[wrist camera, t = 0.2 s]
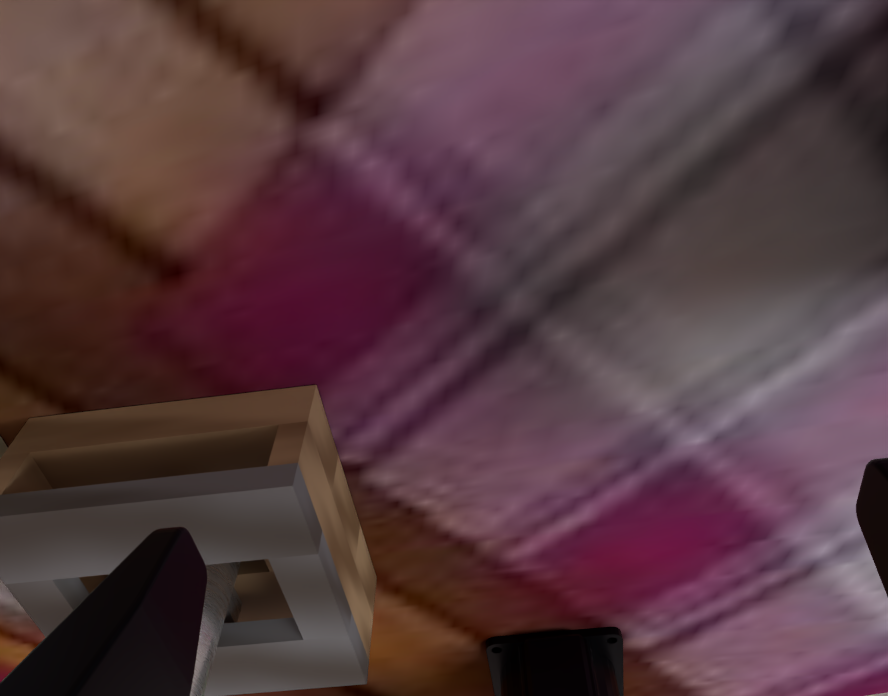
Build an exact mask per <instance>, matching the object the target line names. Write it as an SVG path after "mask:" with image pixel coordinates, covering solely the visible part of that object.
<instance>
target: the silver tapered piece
mask: <svg viewBox="0 0 888 696" xmlns="http://www.w3.org/2000/svg"><path fill="white" fill-rule="evenodd" d="M240 563H241V562H231V563H221V564H211V565H206V569H207V586H206V593H205V600H204V607H203V614H202V621H201V628H200V635H199V642H198V649H197V656H196V663H195V670H194V676H193V682H192V688H191V692H190V696H203V695H204V692H205V688H206V685H207V681H208V677H209V674H210V670H211V667H212V663H213V660H214V656H215V653H216V649H217V645H218V642H219V638H220V635H221V631H222V628H223V624H224V623H235V622H237V621H238V618H239V614H240V610H241V606H242V602H241V600H240V598H239V596H238V594H237V592H236V590H235V588H234V585H235V581H236V578H237V574H238V571H239V567H240Z"/></svg>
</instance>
